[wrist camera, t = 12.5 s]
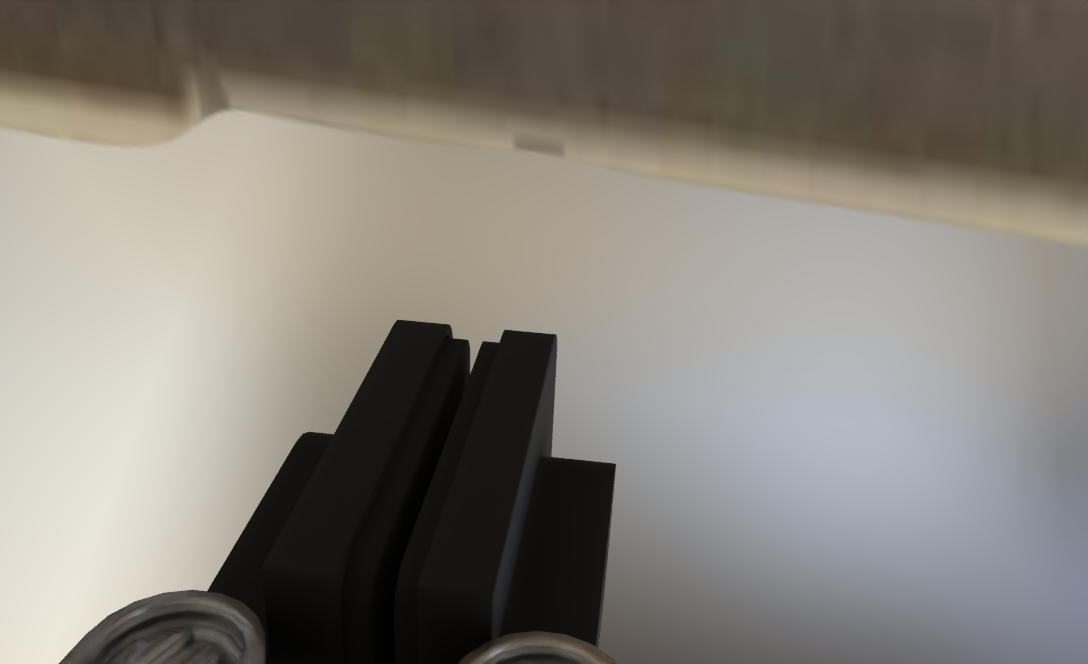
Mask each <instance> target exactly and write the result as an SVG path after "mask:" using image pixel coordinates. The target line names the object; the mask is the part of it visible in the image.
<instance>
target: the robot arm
mask: <svg viewBox="0 0 1088 664" xmlns="http://www.w3.org/2000/svg"><path fill="white" fill-rule="evenodd" d="M556 358H557V336H556V335H555V334H543V333H533V332H522V331H512V330H504V332H503V334H502V337H501V340H500V343H496V342H485V341H484V342H483V343H482V345H481V347H480V350H479V352H478V355H477V358H476V361H475V363H474V366H473V369H472V371H471V374H470V346H469V341H468V340H464V339H453V336H452V329H451V326H450V325H448V324H437V323H426V322H416V321H405V320H397V321H396V322H395V324H394V325H393V327H392V329H391V331H390V333H389V334H388V336H387V338H386V340H385V342H384V344H383V346H382V347H381V349H380V351H379V353H378V355H377V357H376V358H375V360H374V362H373V364H372V366H371V367H370V369H369V371H368V373H367V375H366V377H365V379H364V380H363V382H362V384H361V386H360V388H359V390H358V391H357V393H356V395H355V397H354V399H353V401H352V402H351V404H350V406H349V408H348V410H347V412H346V413H345V415H344V417H343V419H342V421H341V423H340V424H339V426H338V428H337V430H336V432H335V434H325V433H315V432H307V433H304V434H303V435H302V436H301V437H300V438H299V439H298V440H297V442H296V443H295V445H294V446H293V448H292V450H291V452H290V453H289V455H288V457H287V458H286V460H285V462H284V463H283V465H282V467H281V468H280V470H279V472H278V474H277V475H276V477H275V478H274V480H273V482H272V484H271V485H270V487H269V488H268V490H267V492H266V493H265V495H264V497H263V498H262V500H261V502H260V504H259V505H258V507H257V509H256V510H255V512H254V514H253V515H252V517H251V519H250V521H249V522H248V524H247V525H246V527H245V529H244V530H243V532H242V534H241V535H240V537H239V539H238V541H237V542H236V544H235V545H234V547H233V549H232V551H231V552H230V554H229V556H228V557H227V559H226V561H225V562H224V564H223V566H222V567H221V569H220V571H219V572H218V574H217V576H216V577H215V579H214V581H213V582H212V584H211V586H210V587H209V589H208V591H198V590H188V591H177V592H167V593H162V594H158V595H155V596H152V597H149V598H145V599H142V600H139V601H135V602H133V603H131V604H129V605H128V606H126V607H124V608H122V609H120V610H118V611H116V612H114V613H112V614H110V615H109V616H107V617H106V618H105V619H104V620H103V621H101V622H100V623H99V624H98V625H97V626H95V627H94V628H93V629H92V630H91V631H89V632H88V633H87V634H86V635H85V636H84V637H83V638H82V639H81V640H80V641H79V643H78V644H77V645H76V646H75V647H74V648H73V649H72V650H71V651H70V652H69V653H68V654H67V655H66V656H65V658H64V659H63V660H62V661H61V662H60V663H59V664H617V663H616V662H615V661H614V659H612V658H611V657H609V656H608V655H606V654H605V653H603V652H602V651H601V650H599V649H598V647H599V638H600V628H601V618H602V609H603V599H604V589H605V579H606V568H607V558H608V547H609V536H610V524H611V514H612V503H613V492H614V480H615V469H616V464H613V463H602V462H593V461H584V460H574V459H564V458H555V457H551V451H552V450H551V449H552V433H553V413H554V395H555V377H556Z"/></svg>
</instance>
